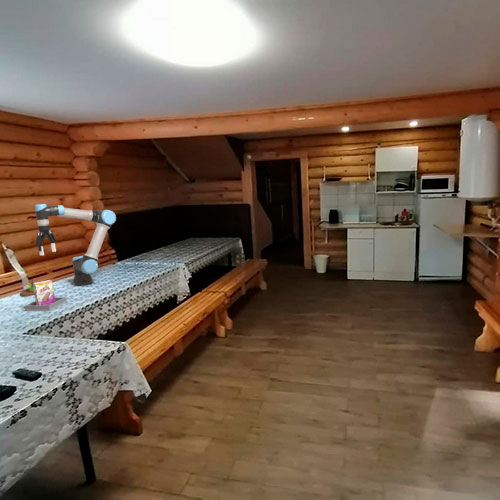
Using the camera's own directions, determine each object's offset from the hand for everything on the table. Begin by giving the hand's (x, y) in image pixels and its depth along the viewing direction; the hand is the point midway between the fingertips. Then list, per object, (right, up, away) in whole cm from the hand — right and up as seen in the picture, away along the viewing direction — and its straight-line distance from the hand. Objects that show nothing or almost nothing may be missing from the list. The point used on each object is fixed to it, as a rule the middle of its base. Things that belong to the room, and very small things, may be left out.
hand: (48, 253), depth 286 cm
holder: (+11, -36, -24) cm, 45 cm away
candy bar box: (+11, -35, -24) cm, 44 cm away
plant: (-18, -31, +15) cm, 39 cm away
